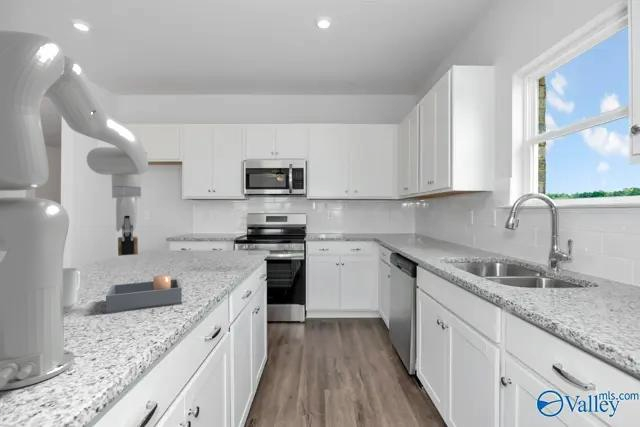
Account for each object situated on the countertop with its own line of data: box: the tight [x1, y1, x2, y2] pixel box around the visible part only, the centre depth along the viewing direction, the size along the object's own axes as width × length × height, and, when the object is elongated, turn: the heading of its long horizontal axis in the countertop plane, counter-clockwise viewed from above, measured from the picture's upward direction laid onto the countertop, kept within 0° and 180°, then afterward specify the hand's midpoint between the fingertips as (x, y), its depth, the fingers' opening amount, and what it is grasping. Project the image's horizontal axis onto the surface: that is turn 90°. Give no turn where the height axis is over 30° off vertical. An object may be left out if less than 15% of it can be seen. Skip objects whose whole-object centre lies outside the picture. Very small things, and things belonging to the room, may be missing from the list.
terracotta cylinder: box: [152, 274, 172, 290], centre depth 102 cm, size 5×5×7 cm
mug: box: [63, 267, 81, 310], centre depth 96 cm, size 12×9×11 cm
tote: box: [105, 278, 183, 314], centre depth 100 cm, size 20×15×5 cm
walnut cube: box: [117, 235, 139, 257], centre depth 96 cm, size 5×5×5 cm
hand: (128, 252), depth 96 cm, fingers closed on walnut cube, 5 cm apart
